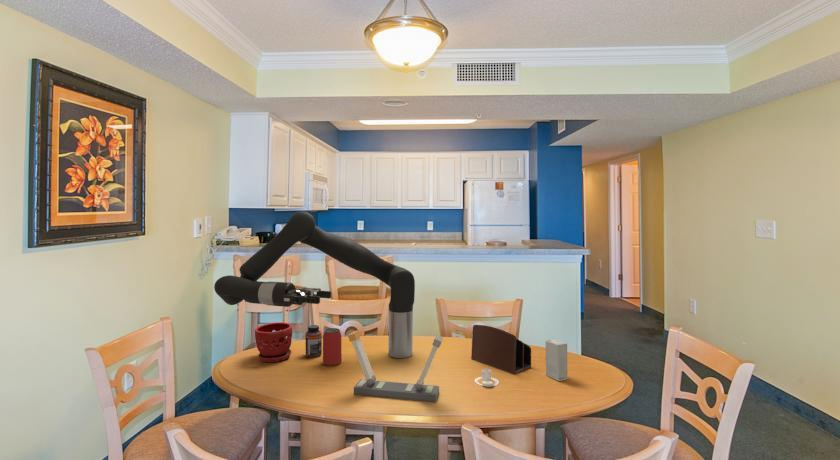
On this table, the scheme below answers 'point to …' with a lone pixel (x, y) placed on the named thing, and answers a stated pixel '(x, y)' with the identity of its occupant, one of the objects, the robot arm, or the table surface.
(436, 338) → the grey switch
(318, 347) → the supplement bottle
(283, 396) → the table surface
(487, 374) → the teacup and saucer
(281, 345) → the plant pot
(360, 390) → the switch panel
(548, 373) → the skincare box
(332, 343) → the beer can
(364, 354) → the orange switch
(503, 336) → the letter holder
